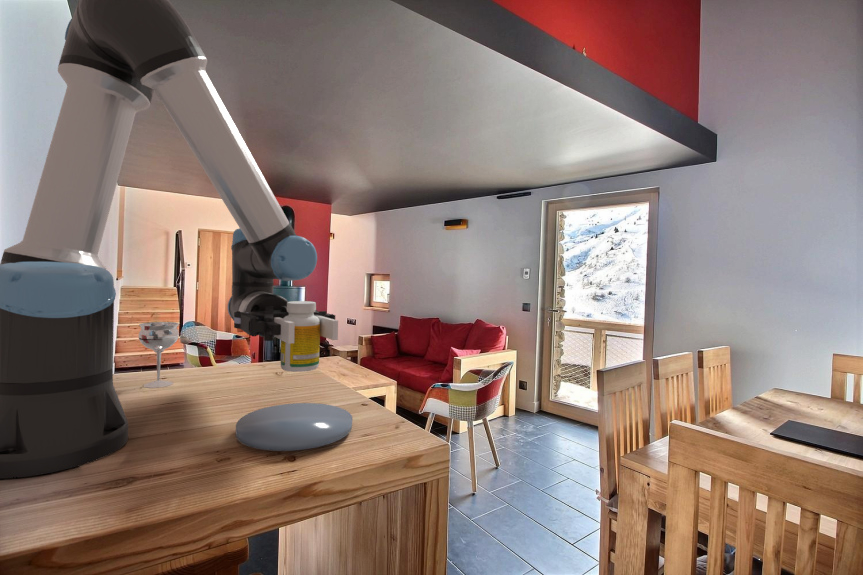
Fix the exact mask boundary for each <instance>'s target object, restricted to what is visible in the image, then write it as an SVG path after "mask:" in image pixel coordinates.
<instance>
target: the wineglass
mask: <svg viewBox="0 0 863 575" xmlns="http://www.w3.org/2000/svg"><path fill="white" fill-rule="evenodd" d="M179 324H180V323H179V322H173V321H172V322H171V321H155V322H153V321H151V322H141V323H139V324H138V326H140V330H139V332H138V340H139V342H140V344H142V345H143V346H144V347H145V348H146V349H150V350H152V351H153V352H154V353H156V375H157V376H156V377H157V378H156V380H154V381H150V382H147V383H145V384H143V385H142V386H143V387H144V388H149V389H151V388H152V389H155V388H164V387H169V386H172V385H173V384H174V382H172V381H168V380H162V379H160V378H161V377H160V376H161V365H162V364H161V362H162V361H161V359H162V353H163V352H164V351H165V350H167V349H169V348H170V347H172V346H174V344H175V343H176V342H177V341H178V339H179V336H180V333H179V329H178V326H179Z"/></svg>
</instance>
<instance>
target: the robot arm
mask: <svg viewBox="0 0 863 575" xmlns="http://www.w3.org/2000/svg"><path fill="white" fill-rule="evenodd" d="M180 13H181V12H179V11H178V10H177V8H175V6H174V5H173V3H172V2H171V1H170V0H78V2H77V5H76V8H75V10H74V12H73V15H72V17H71V19H70V20H69V22H68V24H67V27H66V30H65V34H64V40H65V41H64V44H63V48H62V51H61V52H62V53H61V56H60V58H59V62H58V67H57V72H58V74H59V76H60V77H61V79H62V80H63V81H64V83H65V84H66V90H65V92H64V93H65V94H64V97H63V100H62V104H61V106H60V110H59V114H58V118H57V120H56V124H55V127H54V131H53V133H52V134H53V135H52V139H51V141H50V146H49V148H48V151H47V155H46V158H45V162H44V165H43V169H42V171H41V172H42V173H41V176H40V178H39V183H38V186H37V190H36V192H35V197H34V200H33V204H32V207H31V211H30V213H29V218H28V221H27V224H26V228H25V231H24V234H23V238H22V240H21V241H20V242H18V243H16V244H14V245H12V246H10V247H7V248H5V249H3V250H4V251H3V253H2V257H1V260H0V479H15V478H16V477H17V478H26V477H27V478H28V477H34V476H39V475H41V476H42V475H44V474H50V473H55V472H59V471H64V470H69V469H72V468H75V467H76V468H77V467H79V466H82V465H83V466H84V465H86V464H89V463H91V462H94V461H97V460H100V459H102V458H104V457H107V456H109V455H111V454H113V453H115V452H117V451H118V450H120V449H121V448H122V447H124V446H125V445H126V443H127V442H128V440H129V421H128V418H127V416H126V414H125V411H124V409H123V406H122V404H121V401H120V399H119V396H118V393H117V391H116V388H115V386H114V379H113V378H114V322H115V319H114V318H115V317H114V316H115V312H114V310H115V305H114V304H115V299H116V296H117V292H116V288H115V285H114V277H113V274H112V273H111V272H110V271H109V270H107V267H106V266H105V265H104V264H103V262H102V261H101V260H100V259H99V251H100V247H101V245H102V244H101V243H102V240H103V236H104V232H105V228H106V226H107V221H108V218H109V215H110V210H111V206H112V203H113V199H114V195H115V191H116V188H117V184H118V181H119V177H120V173H121V169H122V166H123V163H124V162H123V161H124V158H125V154H126V150H127V148H128V147H127V146H128V143H129V139H130V136H131V133H132V128H133V124H134V121H135V118H136V114H137V113H139V112H142V111H146V110H148V109H149V108H150V106H151V103H152V99H153V94H154V92H155V93H156V95H157V97H158V98H159V100H160V101H161V103H162V105H163V106H164V108H165V109H166V111H167V114H168V115H169V116H170V118H171V119H172V122H173V123H174V124H175V126H176V127H177V129H178V131H179V132H180V134H181V136H182V137H183V138H184V140H185V142H186V143H187V145H188V147H189V148H190V150H191V152H192V154H193V155H194V156H195V158H196V160H197V161H198V163H199V165H200V166H201V167H202V169H203V171H204V173H205V174H206V176H207V177H208V179H209V181H210V183H211V184H212V186H213V187H214V189H215V191H216V192H217V194H218V195H219V197H220V199H221V201H222V202H223V203H224V206H226V208H227V210H228V211H229V213H230V215H231V216H232V218H233V219H234V221H235V223H236V224H237V226H238V227H239V228H236V229H235V230H234V231H233V233H232V241H231V242H232V243H231V247H230V248H231V254H232V255H231V266H232V267H231V270H232V271H231V274H232V275H231V276H232V278H231V296H230V298H229V300H228V303H227V311H228V314H229V316H230V318H231V319H232V321H233V328H234V329H236V330H241V331H243V332H245V333H246V334H247V335H249V336H252V337H257V336H260V337H262V338H263V340H264V341H265V342H271V341H273V340H274V339H275V338H276V339H279V340H280V341H281V340H282V341H284V342H286V343H288V344H290V343H294V331H295V323H294V322H291V321H288V320H286V319H283V318H284V317H285V316H288V315H289V313H288V312H287V302H289V301H288V299H286V298H285V297H283V296H281V295H279V294H274V280H279V281H280V280H281V281H283V282H293V281H299V280H304V279H306V278H308V277H309V276H311V274H312V273H313V272H314V271H315V269H316V266H317V264H318V263H317V262H318V252H317V250H316V247H315V245H314V244H313V243H312V242H311V241H309V239H307V238H305V237H303V236H300V235H297V234H296V232H295V230H294V228H293V227H292V224H290V221H289V220H288V218H287V216H286V214H285V213H284V210H283V209H282V207H281V205H280V204H279V201H278V200H277V198H276V196H275V195H274V192H273V190H272V189H271V188H270V185H269V184H268V182H267V179H266V178H265V176H264V174H263V173H262V171H261V169H260V167H259V166H258V165H259V164H257V162H256V160H255V158H254V156H253V155H252V152H251V150H250V149H249V147H248V146H247V144H246V142H245V140H244V138H243V137H242V135H241V133H240V131H239V129H238V127H237V125H236V123H235V122H234V120H233V119H232V116H231V115H230V112H229V111H228V110H227V108H226V107H227V106H225V104H224V102H223V101H222V99H221V97H220V94H219V93H218V92H217V91H218V90H216V87H215V86H214V83H213V82H212V80H211V79H210V77H209V75H208V73H207V72H206V68H207V64H208V59H207V56H206V54H205V53H204V50H202V47H201V46H200V44H199V42H198V40H197V39H196V37H195V35H194V33H193V31H192V30H191V28H190V27H189V25H188V24H187V22H186V21H185V19H184V18H183V16H182V15H181V14H180ZM314 316H317V317H318V318H319V320H320V337H323V338H326V339H328V340H331V341H338V340H339V320H337V319H336V314H333V313H327V311H326V310H321V311H320V310H317V309H316V310H315V312H314ZM13 477H14V478H13ZM17 478H16V479H17Z"/></svg>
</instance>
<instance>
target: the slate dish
mask: <svg viewBox="0 0 863 575" xmlns="http://www.w3.org/2000/svg"><path fill="white" fill-rule="evenodd" d="M352 428H353V415H352V414H351V413H350V412H349V411H348V410H346V409H344V408H342V407H339V406H335V405H331V404H327V403H326V404H324V403H318V402H317V403H315V402H299V403H298V402H296V403H284V404H277V405H272V406H267V407H263V408H260V409H257V410H254V411H250V412H248V413H246V414H245V415H243V416H242V417H241V418H239V419H238V420H237V422H236V424H235V437H236V440H238V442H240V443H241V444H242V445H244V446H247V447H250V448H254V449H256V450H257V449H258V450H263V451H273V452H275V451H276V452H278V451H279V452H288V451H290V452H291V451H292V452H293V451H302V450H303V451H304V450H308V449H309V450H310V449H313V448H319V447H323V446H327V445H330V444H332V443H335V442H337V441H340V440H342V439H343V438H345V437H346V436H347V435H349V434H350V432H351V431H352V430H353V429H352Z"/></svg>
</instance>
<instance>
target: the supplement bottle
mask: <svg viewBox="0 0 863 575" xmlns="http://www.w3.org/2000/svg"><path fill="white" fill-rule="evenodd" d="M315 310H317V302H315V301H308V300H307V301H306V300H296V301H295V300H294V301H293V300H291V301H288V302H287V312H288V313H289V315H288V316H285V317H284V318H283V319H286V320H288V321H291V322H294V323H295V331H294V343H290V344H288V343H286V342H284V341H282V340H280V368H281V369H282V370H283V371H285V372H286V371H287V372H291V373H292V372H293V373H294V372H295V373H296V372H310V371H311V372H312V371H313V370H314V371H315V370H316V369H318V367H319V365H320V347H321V346H320V343H321V338H320V337H321V336H320V320H319V318H318V317H317V316H314V312H315Z"/></svg>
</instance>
